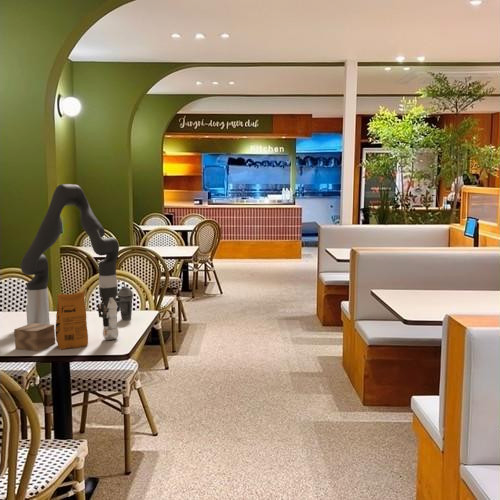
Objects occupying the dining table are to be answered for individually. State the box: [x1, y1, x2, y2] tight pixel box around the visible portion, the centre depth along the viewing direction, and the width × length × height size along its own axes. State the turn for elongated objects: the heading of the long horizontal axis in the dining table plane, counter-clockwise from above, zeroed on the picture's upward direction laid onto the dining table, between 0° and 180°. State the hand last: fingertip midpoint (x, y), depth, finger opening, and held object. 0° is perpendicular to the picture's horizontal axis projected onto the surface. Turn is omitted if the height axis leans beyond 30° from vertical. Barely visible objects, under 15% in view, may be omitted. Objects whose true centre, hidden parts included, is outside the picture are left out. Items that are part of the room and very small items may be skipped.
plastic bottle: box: [102, 297, 120, 341], centre depth 253 cm, size 6×7×20 cm
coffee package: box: [55, 291, 89, 350], centre depth 245 cm, size 10×12×22 cm
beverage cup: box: [117, 277, 134, 321], centre depth 289 cm, size 7×7×20 cm
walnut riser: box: [13, 323, 56, 352], centre depth 246 cm, size 11×11×8 cm
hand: (110, 324), depth 253 cm, fingers closed on plastic bottle, 5 cm apart
